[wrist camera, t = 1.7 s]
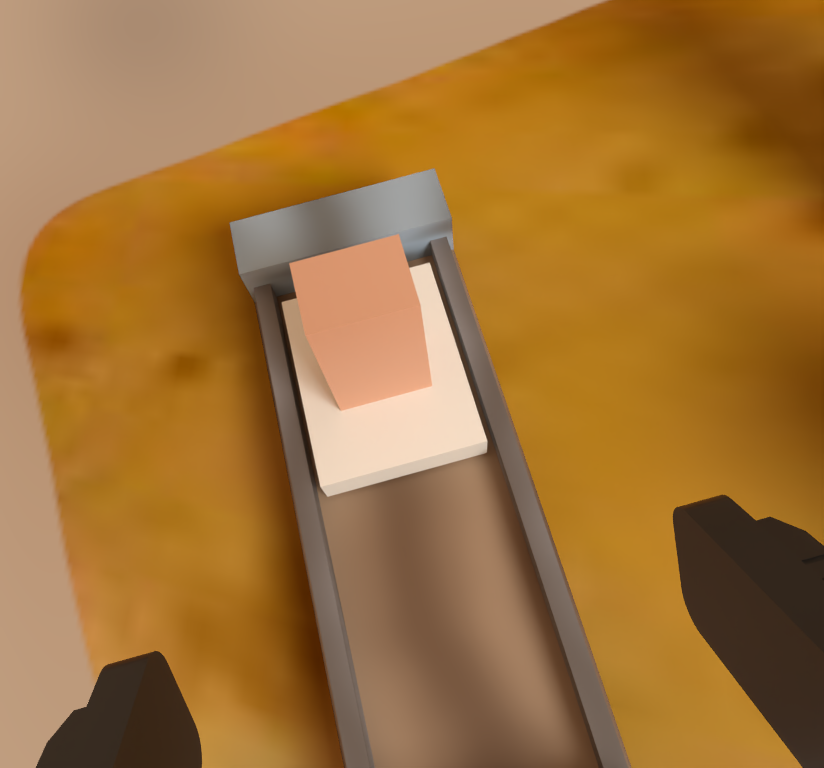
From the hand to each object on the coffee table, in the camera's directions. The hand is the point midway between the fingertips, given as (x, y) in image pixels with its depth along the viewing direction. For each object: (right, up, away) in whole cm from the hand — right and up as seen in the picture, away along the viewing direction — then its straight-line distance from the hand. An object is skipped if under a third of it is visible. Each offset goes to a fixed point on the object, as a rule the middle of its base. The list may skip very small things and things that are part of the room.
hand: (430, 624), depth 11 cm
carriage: (-2, +4, +21) cm, 22 cm away
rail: (0, -2, +20) cm, 20 cm away
